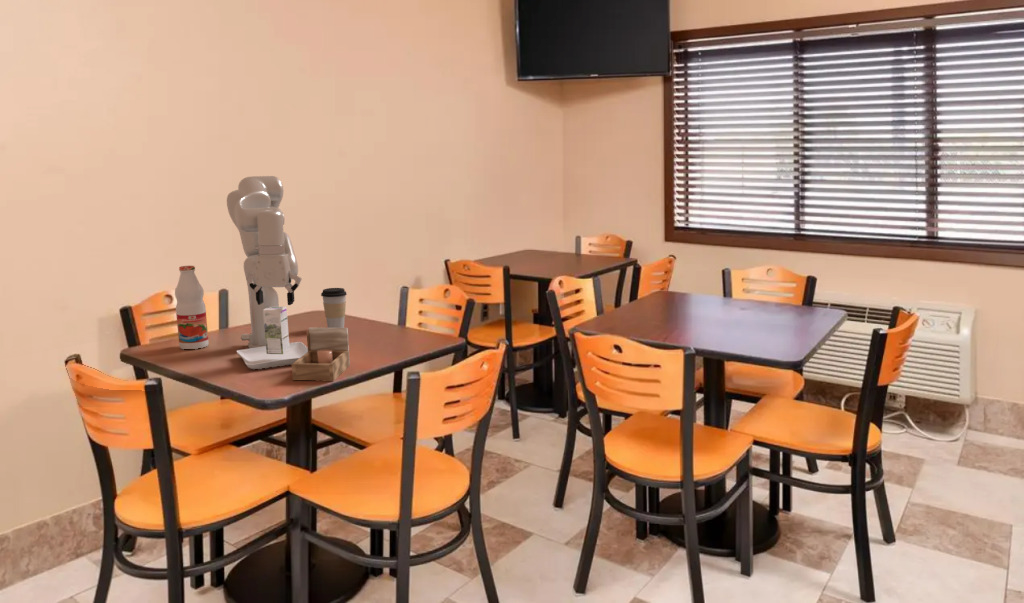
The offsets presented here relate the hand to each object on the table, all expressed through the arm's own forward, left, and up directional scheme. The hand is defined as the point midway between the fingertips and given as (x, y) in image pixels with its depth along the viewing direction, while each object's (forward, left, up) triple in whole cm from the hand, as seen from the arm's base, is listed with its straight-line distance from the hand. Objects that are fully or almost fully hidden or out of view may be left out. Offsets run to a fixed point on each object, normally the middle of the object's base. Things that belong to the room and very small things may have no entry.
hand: (275, 304), depth 244 cm
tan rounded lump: (+18, -11, -18) cm, 28 cm away
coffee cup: (+4, +46, -19) cm, 50 cm away
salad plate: (-1, +1, -19) cm, 19 cm away
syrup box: (0, 0, -16) cm, 16 cm away
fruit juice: (-37, +17, -19) cm, 45 cm away
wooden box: (+18, -15, -18) cm, 30 cm away
